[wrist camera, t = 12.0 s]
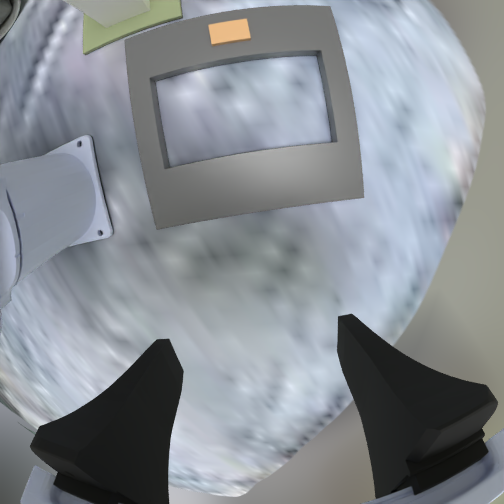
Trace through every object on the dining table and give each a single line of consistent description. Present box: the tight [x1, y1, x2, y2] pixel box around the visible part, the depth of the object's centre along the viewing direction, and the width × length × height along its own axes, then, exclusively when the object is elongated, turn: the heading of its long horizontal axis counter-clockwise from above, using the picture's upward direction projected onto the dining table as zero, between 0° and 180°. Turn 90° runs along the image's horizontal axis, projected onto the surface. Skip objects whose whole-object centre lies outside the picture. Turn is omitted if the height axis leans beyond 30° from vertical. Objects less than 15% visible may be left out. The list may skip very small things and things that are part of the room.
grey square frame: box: [125, 5, 364, 230], centre depth 15 cm, size 14×14×2 cm
